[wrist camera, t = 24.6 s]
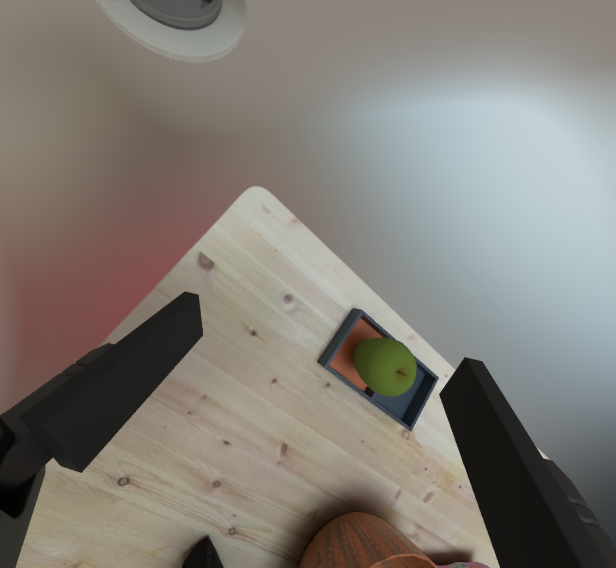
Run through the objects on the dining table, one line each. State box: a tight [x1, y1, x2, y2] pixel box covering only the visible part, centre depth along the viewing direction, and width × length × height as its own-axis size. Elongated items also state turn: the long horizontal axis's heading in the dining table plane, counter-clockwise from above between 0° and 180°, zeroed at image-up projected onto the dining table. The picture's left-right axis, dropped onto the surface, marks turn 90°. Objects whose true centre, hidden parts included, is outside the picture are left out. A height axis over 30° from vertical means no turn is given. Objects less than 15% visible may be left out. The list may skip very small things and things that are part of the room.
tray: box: [318, 308, 439, 431], centre depth 43 cm, size 23×12×3 cm, turn 52°
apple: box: [352, 338, 417, 397], centre depth 37 cm, size 9×8×12 cm
